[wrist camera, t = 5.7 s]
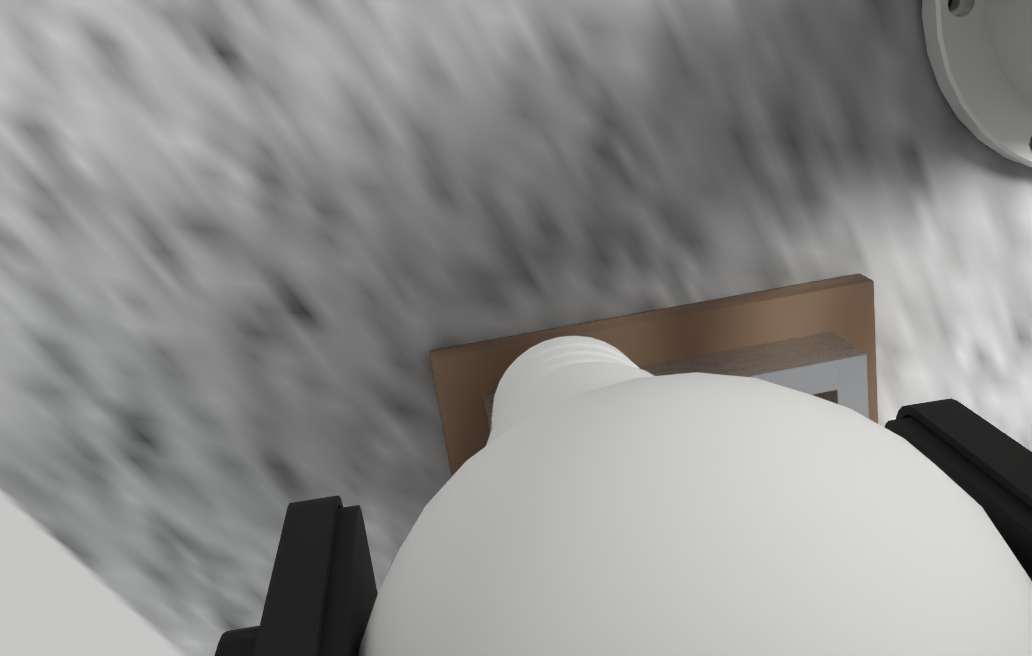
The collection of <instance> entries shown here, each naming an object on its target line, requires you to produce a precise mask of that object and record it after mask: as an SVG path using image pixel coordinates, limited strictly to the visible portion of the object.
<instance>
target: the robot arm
mask: <svg viewBox="0 0 1032 656" xmlns="http://www.w3.org/2000/svg"><path fill="white" fill-rule="evenodd" d="M922 21H923V28H924V34H925V41H926V48H927V54H928V57H929V60H930V63H931V66H932V68H933V71H934V74H935V77H936V80H937V83H938V85H939V88H940V90H941V91H942V93H943V95H944V96H945V98H946V100H947V101H948V103H949V105H950V106H951V108H952V110H953V111H954V113H955V115H956V116H957V118H958V119H959V120H960V121H961V122H962V123H963V124H964V125H965V126H966V127H967V128H968V129H969V130H970V131H971V132H972V133H973V134H974V135H975V137H976V138H977V139H978V140H979V141H981V142H982V143H984V144H985V145H987V146H988V147H990V148H991V149H993V150H994V151H996V152H997V153H999V154H1000V155H1002V156H1003V157H1005V158H1007V159H1009V160H1012V161H1015V162H1017V163H1020V164H1023V165H1026V166H1028V167H1031V168H1032V0H952V4H951V7H950V8H948V0H922ZM885 428H886V429H888V430H890V431H892V432H893V433H895V434H897V435H899V436H901V437H902V438H904V439H905V440H907V441H908V442H909V443H910V444H911V445H913V446H914V447H915V448H916V449H917V450H918V451H920V452H921V453H922V454H923V455H924V456H926V457H927V458H928V459H929V460H930V461H932V462H933V463H934V464H935V465H936V466H937V467H939V468H940V469H941V470H942V471H943V472H944V473H945V474H946V475H947V476H948V477H950V478H951V479H952V480H953V481H954V482H955V483H956V484H957V485H958V486H959V487H961V488H962V489H963V490H964V491H965V492H966V493H967V494H968V495H969V496H971V497H972V498H973V499H974V500H975V501H976V502H977V503H978V504H979V505H980V506H982V508H983V509H984V511H985V512H986V514H987V515H988V517H989V518H990V520H991V521H992V523H993V524H994V526H995V527H996V529H997V530H998V532H999V533H1000V535H1001V536H1002V537H1003V539H1004V540H1005V542H1006V543H1007V545H1008V546H1009V548H1010V549H1011V551H1012V552H1013V554H1014V555H1015V557H1016V558H1017V560H1018V561H1019V563H1020V564H1021V566H1022V567H1023V569H1024V570H1025V572H1026V573H1027V575H1028V576H1029V578H1030V579H1031V581H1032V452H1031V451H1029V450H1028V449H1026V448H1025V447H1024V446H1022V445H1021V444H1019V443H1018V442H1016V441H1015V440H1013V439H1012V438H1010V437H1009V436H1008V435H1006V434H1005V433H1003V432H1002V431H1000V430H999V429H997V428H996V427H994V426H993V425H992V424H990V423H989V422H987V421H986V420H984V419H983V418H981V417H980V416H978V415H977V414H976V413H974V412H973V411H971V410H970V409H968V408H967V407H965V406H964V405H962V404H961V403H960V402H958V401H956V400H954V399H945V400H939V401H932V402H926V403H920V404H913V405H907V406H902V407H901V409H900V410H899V411H898V414H897V417H896V420H891V421H888V422H887V423H886V425H885ZM377 595H378V594H377V589H376V584H375V578H374V573H373V568H372V563H371V557H370V552H369V547H368V542H367V536H366V531H365V526H364V520H363V516H362V512H361V508H360V506H359V505H357V506H351V507H344V508H343V504H342V501H341V498H340V497H339V496H332V497H326V498H320V499H313V500H307V501H301V502H294V503H289V505H288V508H287V512H286V517H285V521H284V525H283V529H282V534H281V538H280V542H279V546H278V551H277V555H276V559H275V563H274V568H273V572H272V576H271V580H270V585H269V589H268V593H267V597H266V602H265V606H264V610H263V614H262V619H261V623H260V626H255V627H249V628H243V629H237V630H231V631H227V632H225V633H223V634H222V636H221V638H220V641H219V643H218V646H217V650H216V653H215V656H359V648H360V645H361V642H362V639H363V636H364V633H365V630H366V627H367V624H368V621H369V618H370V615H371V613H372V610H373V607H374V604H375V601H376V598H377Z"/></svg>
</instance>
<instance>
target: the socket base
mask: <svg viewBox="0 0 1032 656" xmlns="http://www.w3.org/2000/svg"><path fill="white" fill-rule="evenodd" d="M829 331H833V332H835V333H836V334H838V335H839V336H840V337H842V338H843V339H845V340H846V341H848V342H849V343H850V344H852V345H853V346H855V347H856V348H858V349H859V350H861V351H862V352H863V353H865V354H866V355H867V379H868V408H869V419H870V420H872V421H874V422H875V423H877V424H878V412H877V380H876V348H875V316H874V285H873V280H871V279H869V278H867V277H865V276H863V275H861V274H855V275H849V276H844V277H838V278H833V279H827V280H822V281H816V282H810V283H805V284H799V285H794V286H788V287H783V288H777V289H772V290H766V291H760V292H755V293H749V294H744V295H738V296H733V297H727V298H721V299H716V300H710V301H705V302H699V303H694V304H688V305H683V306H677V307H671V308H666V309H660V310H655V311H649V312H644V313H638V314H632V315H627V316H621V317H616V318H610V319H605V320H599V321H594V322H588V323H582V324H577V325H571V326H566V327H560V328H555V329H549V330H544V331H538V332H532V333H527V334H521V335H516V336H510V337H505V338H499V339H493V340H488V341H482V342H477V343H471V344H466V345H460V346H455V347H449V348H443V349H438V350H432V351H429V352H430V361H431V366H432V372H433V377H434V382H435V388H436V393H437V398H438V404H439V409H440V414H441V420H442V425H443V430H444V436H445V441H446V447H447V452H448V457H449V463H450V468H451V473H452V476H453V475H454V474H455V473H456V472H457V471H458V469H459V468H460V467H461V466H462V465H463V464H464V463H465V462H466V461H467V460H468V459H470V458H471V457H472V456H474V455H475V454H476V453H478V452H479V451H480V450H482V449H483V448H484V447H486V444H487V442H488V439H489V436H490V431H489V425H488V419H487V414H486V408H485V402H484V396H483V395H486V394H491V393H496V390H497V387H498V384H499V382H500V380H501V378H502V377H503V375H504V373H505V372H506V370H507V369H508V367H509V366H510V365H511V364H512V363H513V362H514V361H515V360H516V359H517V358H518V357H519V356H520V355H521V354H523V353H524V352H525V351H527V350H528V349H529V348H531V347H533V346H535V345H537V344H539V343H541V342H543V341H546V340H550V339H553V338H557V337H564V336H584V337H591V338H594V339H598V340H601V341H604V342H606V343H608V344H610V345H612V346H613V347H615V348H617V349H618V350H619V351H621V352H622V353H623V354H624V355H625V356H627V357H628V358H629V359H630V360H631V361H632V362H633V363H634V364H635V365H637V366H644V365H649V364H655V363H660V362H666V361H671V360H676V359H682V358H687V357H693V356H698V355H704V354H709V353H715V352H720V351H725V350H731V349H736V348H742V347H747V346H753V345H758V344H764V343H769V342H774V341H780V340H785V339H791V338H796V337H802V336H807V335H813V334H818V333H823V332H829Z"/></svg>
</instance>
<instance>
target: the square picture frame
mask: <svg viewBox="0 0 1032 656" xmlns="http://www.w3.org/2000/svg"><path fill="white" fill-rule="evenodd" d="M638 367H639V369H642V370H645V371H647V372H649V373H650V374H652V375H654V376H662V375H673V374H683V373H694V372H698V373H709V374H719V375H730V376H741V377H751V378H758V379H761V380H764V381H768V382H771V383H774V384H777V385H781V386H784V387H787V388H791V389H794V390H797V391H801V392H804V393H807V394H811V395H813V396H816V397H819V398H822V399H825V400H828V401H830V402H833V403H836V404H839V405H842V406H844V407H847V408H850V409H852V410H854V411H856V412H857V413H859V414H861V415H863V416H865V417H866V418H868V419H869V408H868V379H867V355H866V354H865V353H863V352H862V351H861V350H859V349H858V348H856V347H855V346H853V345H852V344H850V343H849V342H848V341H846V340H845V339H843V338H842V337H840V336H839V335H838V334H836V333H835V332H833V331H829V332H823V333H818V334H813V335H807V336H802V337H796V338H791V339H785V340H780V341H774V342H769V343H764V344H758V345H753V346H747V347H742V348H736V349H731V350H725V351H720V352H715V353H709V354H704V355H698V356H693V357H687V358H682V359H676V360H671V361H666V362H660V363H655V364H649V365H644V366H638ZM494 395H495V393H491V394H486V395H483V396H484V402H485V408H486V414H487V419H488V425H489V431H490V433H491V430H492V412H493V411H492V409H493V402H494Z"/></svg>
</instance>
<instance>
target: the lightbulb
mask: <svg viewBox="0 0 1032 656" xmlns="http://www.w3.org/2000/svg"><path fill="white" fill-rule="evenodd" d="M492 411H493V412H492V430H491V433H490V436H489V439H488V442H487V444H486V447H484V448H483V449H482V450H480V451H479V452H478V453H476V454H475V455H474V456H472V457H471V458H470V459H468V460H467V461H466V462H465V463H464V464H463V465H462V466H461V467H460V468H459V469H458V471H457V472H456V473H455V474H454V475H453V476H452V477H451V478H450V479H449V480H448V482H447V483H446V484H445V485H444V486H443V487H442V488H441V489H440V490H439V491H438V493H437V494H436V495H435V496H434V497H433V498H432V499H431V500H430V501H429V502H428V503H427V505H426V506H425V507H424V509H423V511H422V512H421V514H420V516H419V517H418V519H417V521H416V522H415V524H414V526H413V527H412V529H411V531H410V532H409V534H408V536H407V537H406V539H405V541H404V542H403V544H402V546H401V547H400V549H399V551H398V552H397V554H396V556H395V558H394V560H393V562H392V564H391V566H390V569H389V571H388V573H387V575H386V577H385V579H384V581H383V583H382V585H381V587H380V589H379V592H378V595H377V598H376V601H375V604H374V607H373V610H372V613H371V615H370V618H369V621H368V624H367V627H366V630H365V633H364V636H363V639H362V642H361V645H360V648H359V656H1032V581H1031V579H1030V578H1029V576H1028V575H1027V573H1026V572H1025V570H1024V569H1023V567H1022V566H1021V564H1020V563H1019V561H1018V560H1017V558H1016V557H1015V555H1014V554H1013V552H1012V551H1011V549H1010V548H1009V546H1008V545H1007V543H1006V542H1005V540H1004V539H1003V537H1002V536H1001V535H1000V533H999V532H998V530H997V529H996V527H995V526H994V524H993V523H992V521H991V520H990V518H989V517H988V515H987V514H986V512H985V511H984V509H983V508H982V506H980V505H979V504H978V503H977V502H976V501H975V500H974V499H973V498H972V497H971V496H969V495H968V494H967V493H966V492H965V491H964V490H963V489H962V488H961V487H959V486H958V485H957V484H956V483H955V482H954V481H953V480H952V479H951V478H950V477H948V476H947V475H946V474H945V473H944V472H943V471H942V470H941V469H940V468H939V467H937V466H936V465H935V464H934V463H933V462H932V461H930V460H929V459H928V458H927V457H926V456H924V455H923V454H922V453H921V452H920V451H918V450H917V449H916V448H915V447H914V446H913V445H911V444H910V443H909V442H908V441H907V440H905V439H904V438H902V437H901V436H899V435H897V434H895V433H893V432H892V431H890V430H888V429H886V428H884V427H883V426H881V425H879V424H877V423H875V422H874V421H872V420H870V419H868V418H866V417H865V416H863V415H861V414H859V413H857V412H856V411H854V410H852V409H850V408H847V407H844V406H842V405H839V404H836V403H833V402H830V401H828V400H825V399H822V398H819V397H816V396H813V395H811V394H807V393H804V392H801V391H797V390H794V389H791V388H787V387H784V386H781V385H777V384H774V383H771V382H768V381H764V380H761V379H758V378H751V377H741V376H730V375H719V374H709V373H698V372H694V373H683V374H673V375H662V376H654V375H652V374H650V373H649V372H647V371H645V370H642V369H639V367H638V366H637V365H635V364H634V363H633V362H632V361H631V360H630V359H629V358H628V357H627V356H625V355H624V354H623V353H622V352H621V351H619V350H618V349H617V348H615V347H613V346H612V345H610V344H608V343H606V342H604V341H601V340H598V339H594V338H591V337H584V336H564V337H557V338H553V339H550V340H546V341H543V342H541V343H539V344H537V345H535V346H533V347H531V348H529V349H528V350H527V351H525V352H524V353H523V354H521V355H520V356H519V357H518V358H517V359H516V360H515V361H514V362H513V363H512V364H511V365H510V366H509V367H508V369H507V370H506V372H505V373H504V375H503V377H502V378H501V380H500V382H499V384H498V387H497V390H496V393H495V395H494V402H493V409H492Z"/></svg>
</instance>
